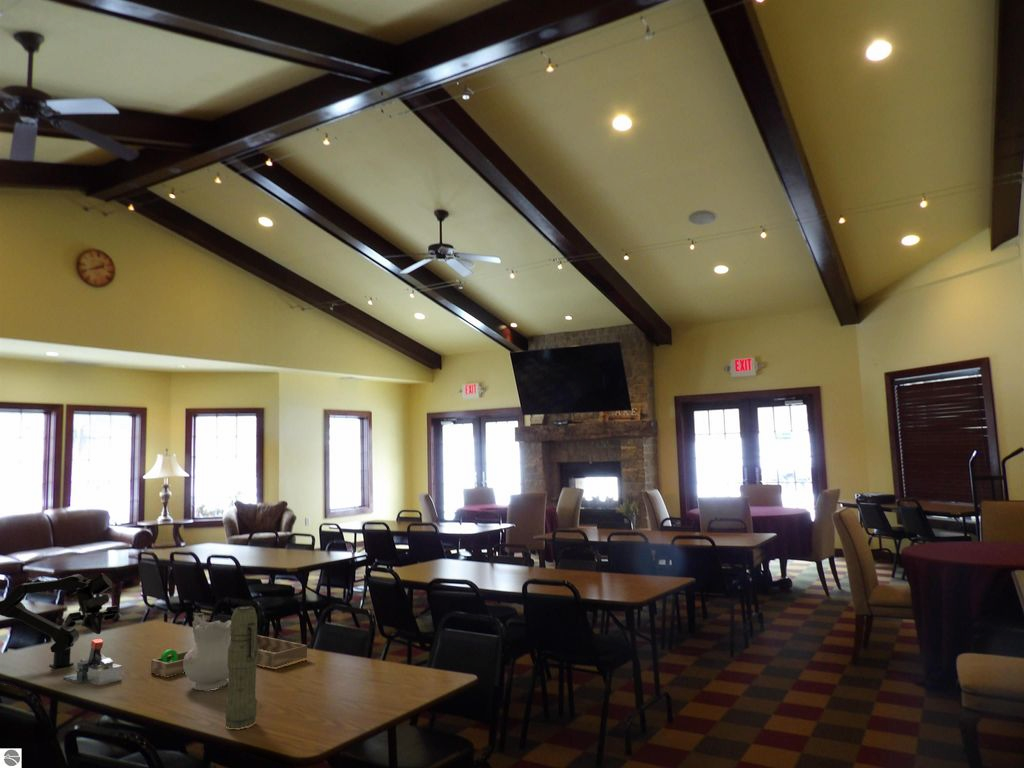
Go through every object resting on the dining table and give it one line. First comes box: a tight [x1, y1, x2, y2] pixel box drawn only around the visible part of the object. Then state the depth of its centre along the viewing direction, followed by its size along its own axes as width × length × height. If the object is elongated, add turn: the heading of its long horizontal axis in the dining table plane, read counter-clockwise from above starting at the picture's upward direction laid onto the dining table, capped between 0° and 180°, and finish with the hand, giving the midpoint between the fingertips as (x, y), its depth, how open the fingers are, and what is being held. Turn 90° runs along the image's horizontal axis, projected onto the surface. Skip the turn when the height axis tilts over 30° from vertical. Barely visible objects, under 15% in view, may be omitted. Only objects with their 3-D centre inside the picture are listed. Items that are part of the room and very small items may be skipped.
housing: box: [87, 662, 123, 686], centre depth 263 cm, size 8×8×5 cm
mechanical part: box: [160, 648, 178, 663], centre depth 277 cm, size 12×6×8 cm, turn 138°
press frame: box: [62, 660, 100, 685], centre depth 268 cm, size 12×14×6 cm
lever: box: [79, 638, 114, 672], centre depth 266 cm, size 16×4×12 cm, turn 56°
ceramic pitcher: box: [183, 612, 231, 691], centre depth 258 cm, size 22×20×25 cm
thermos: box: [224, 605, 258, 728], centre depth 219 cm, size 9×12×35 cm
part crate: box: [150, 650, 190, 677], centre depth 276 cm, size 11×17×5 cm, turn 146°
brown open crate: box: [257, 634, 308, 667], centre depth 291 cm, size 35×16×6 cm, turn 56°
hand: (99, 633), depth 279 cm, fingers closed
